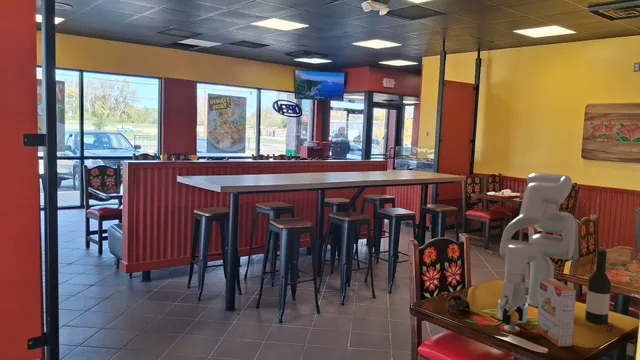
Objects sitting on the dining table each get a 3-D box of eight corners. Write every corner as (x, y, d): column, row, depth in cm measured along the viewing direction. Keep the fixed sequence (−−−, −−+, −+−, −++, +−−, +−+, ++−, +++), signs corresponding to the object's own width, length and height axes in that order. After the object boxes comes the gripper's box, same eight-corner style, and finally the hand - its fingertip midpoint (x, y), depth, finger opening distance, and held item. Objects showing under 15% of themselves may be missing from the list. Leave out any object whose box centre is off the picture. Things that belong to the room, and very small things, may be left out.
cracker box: (535, 331, 184) (539, 277, 182) (550, 331, 185) (554, 278, 183) (556, 347, 170) (560, 289, 168) (572, 347, 171) (577, 289, 169)
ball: (510, 318, 188) (511, 307, 188) (520, 322, 184) (521, 311, 184) (503, 321, 185) (504, 309, 185) (514, 324, 182) (514, 313, 182)
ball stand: (509, 325, 189) (510, 318, 189) (522, 330, 185) (523, 322, 184) (501, 328, 186) (501, 320, 186) (514, 333, 181) (514, 325, 181)
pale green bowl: (508, 311, 205) (509, 296, 205) (533, 319, 196) (534, 304, 195) (491, 316, 199) (492, 301, 198) (516, 325, 189) (517, 309, 189)
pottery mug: (475, 317, 199) (467, 301, 196) (453, 324, 201) (446, 309, 198) (468, 300, 210) (461, 285, 208) (448, 307, 212) (441, 293, 210)
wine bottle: (588, 315, 203) (594, 245, 200) (610, 321, 197) (616, 249, 194) (581, 320, 197) (587, 248, 195) (604, 326, 191) (610, 252, 189)
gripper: (519, 271, 191) (516, 314, 193) (492, 277, 181) (490, 323, 183) (537, 276, 185) (534, 320, 187) (510, 282, 175) (507, 329, 177)
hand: (512, 321), depth 185 cm, fingers open, 7 cm apart
